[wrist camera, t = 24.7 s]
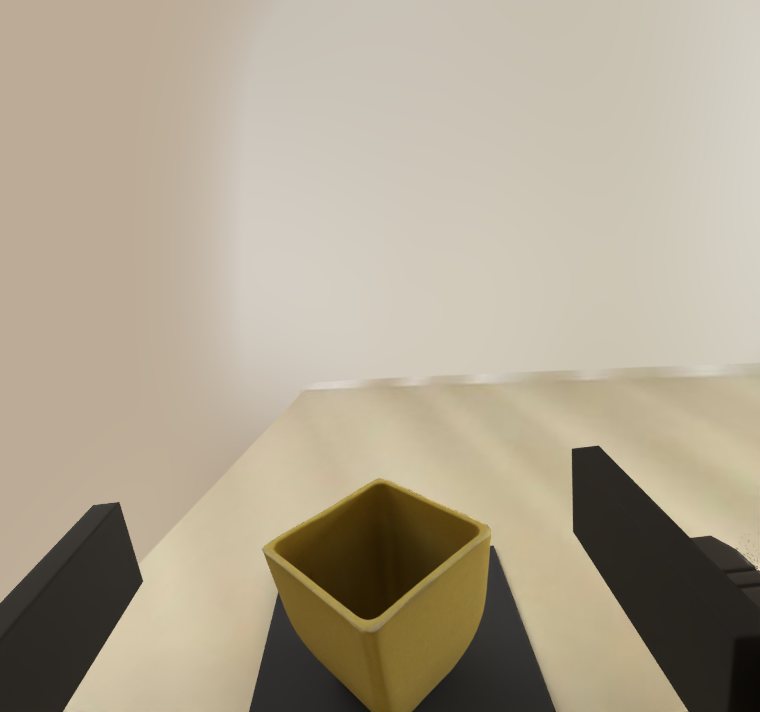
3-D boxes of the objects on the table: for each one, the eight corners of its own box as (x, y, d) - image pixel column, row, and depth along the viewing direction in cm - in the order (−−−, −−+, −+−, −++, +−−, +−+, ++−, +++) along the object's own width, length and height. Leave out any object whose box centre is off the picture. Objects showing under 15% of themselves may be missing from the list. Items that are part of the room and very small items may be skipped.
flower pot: (391, 794, 22) (366, 633, 20) (286, 678, 29) (258, 544, 26) (503, 665, 28) (495, 526, 25) (394, 592, 34) (380, 475, 32)
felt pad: (621, 889, 19) (621, 886, 19) (197, 932, 19) (196, 929, 19) (493, 547, 38) (493, 545, 38) (284, 570, 38) (284, 568, 38)
